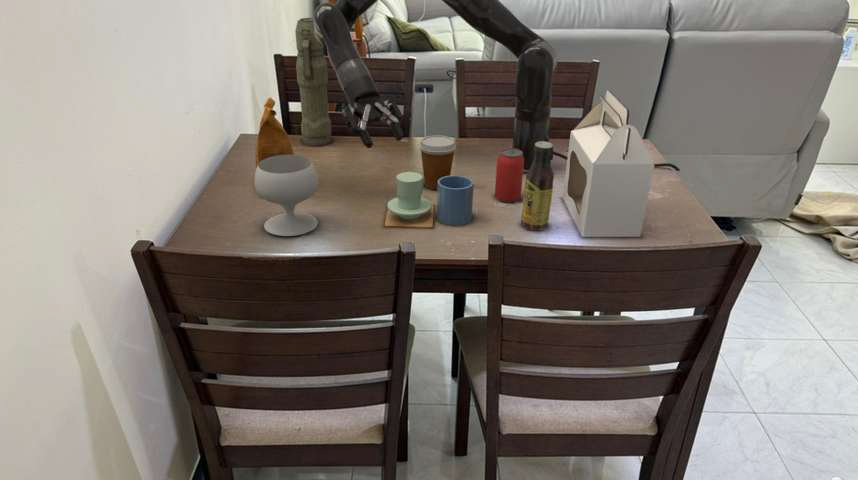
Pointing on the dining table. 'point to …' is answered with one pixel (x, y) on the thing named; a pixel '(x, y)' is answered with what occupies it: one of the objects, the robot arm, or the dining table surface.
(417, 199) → the pale green top hat
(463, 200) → the blue cup
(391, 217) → the cork mat
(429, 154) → the disposable coffee cup
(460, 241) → the dining table surface
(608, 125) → the gable box
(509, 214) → the dining table surface
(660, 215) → the dining table surface
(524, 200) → the sauce bottle
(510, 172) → the beer can
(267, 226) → the chalice
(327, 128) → the stone tiki statue
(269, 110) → the coffee package
